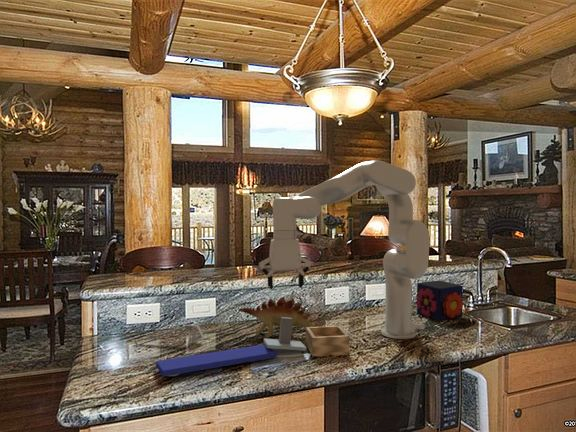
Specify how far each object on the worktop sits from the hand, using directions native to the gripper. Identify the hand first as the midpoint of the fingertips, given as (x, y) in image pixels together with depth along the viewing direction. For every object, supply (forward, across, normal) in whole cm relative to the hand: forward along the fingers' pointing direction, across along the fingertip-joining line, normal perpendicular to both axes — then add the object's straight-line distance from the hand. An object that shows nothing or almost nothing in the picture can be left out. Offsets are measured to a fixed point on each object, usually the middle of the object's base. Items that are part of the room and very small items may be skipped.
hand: (285, 287), depth 143 cm
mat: (+21, +1, 0) cm, 21 cm away
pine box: (+21, -13, 0) cm, 25 cm away
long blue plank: (+21, +22, +9) cm, 32 cm away
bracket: (+21, +39, -14) cm, 47 cm away
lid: (+19, +1, 0) cm, 19 cm away
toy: (+21, -1, -18) cm, 28 cm away
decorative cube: (+23, -71, -35) cm, 83 cm away
